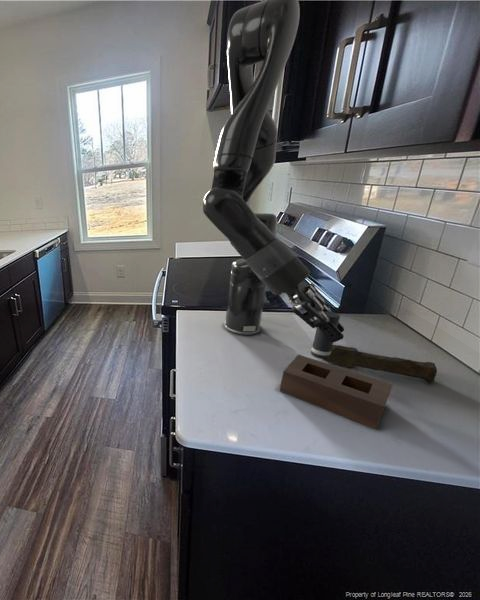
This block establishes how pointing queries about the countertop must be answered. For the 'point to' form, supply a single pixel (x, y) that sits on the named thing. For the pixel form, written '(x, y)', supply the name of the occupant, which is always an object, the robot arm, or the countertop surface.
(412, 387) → the countertop surface
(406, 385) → the countertop surface
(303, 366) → the holder
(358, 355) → the hand tool
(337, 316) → the dark grey cylinder
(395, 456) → the countertop surface
